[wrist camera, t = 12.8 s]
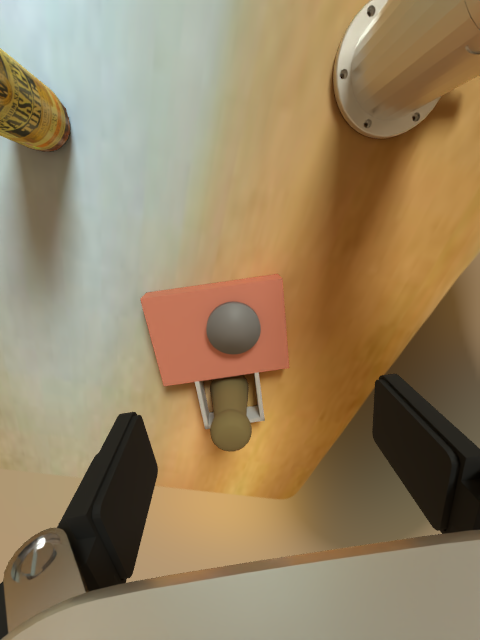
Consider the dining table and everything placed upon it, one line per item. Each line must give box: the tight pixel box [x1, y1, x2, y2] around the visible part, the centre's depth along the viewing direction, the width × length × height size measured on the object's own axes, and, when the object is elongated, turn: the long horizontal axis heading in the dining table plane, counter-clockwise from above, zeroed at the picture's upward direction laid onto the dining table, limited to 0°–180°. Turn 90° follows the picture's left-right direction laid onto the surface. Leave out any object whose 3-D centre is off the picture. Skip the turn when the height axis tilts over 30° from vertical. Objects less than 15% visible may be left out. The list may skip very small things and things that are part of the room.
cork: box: [210, 375, 252, 451], centre depth 38 cm, size 6×6×11 cm
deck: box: [140, 274, 289, 429], centre depth 39 cm, size 18×22×4 cm
